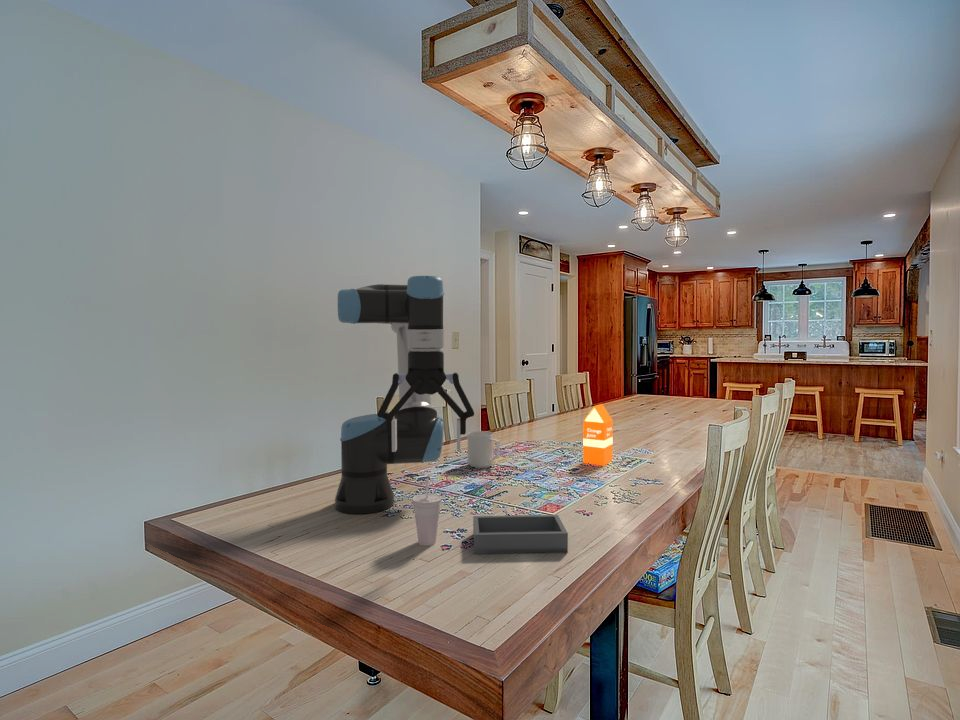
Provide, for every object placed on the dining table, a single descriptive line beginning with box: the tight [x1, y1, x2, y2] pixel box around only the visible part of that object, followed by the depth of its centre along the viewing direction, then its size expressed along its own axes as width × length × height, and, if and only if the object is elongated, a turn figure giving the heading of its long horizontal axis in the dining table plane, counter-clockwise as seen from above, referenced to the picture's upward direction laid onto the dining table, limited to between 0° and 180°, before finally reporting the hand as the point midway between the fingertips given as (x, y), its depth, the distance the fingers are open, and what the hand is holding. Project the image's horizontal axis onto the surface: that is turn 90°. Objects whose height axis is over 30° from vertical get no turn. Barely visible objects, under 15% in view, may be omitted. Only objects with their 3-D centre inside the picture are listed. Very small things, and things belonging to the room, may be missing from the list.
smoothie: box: [411, 477, 443, 547], centre depth 113 cm, size 6×6×14 cm
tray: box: [472, 514, 569, 555], centre depth 113 cm, size 11×19×4 cm, turn 92°
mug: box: [466, 430, 501, 469], centre depth 178 cm, size 12×9×11 cm
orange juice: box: [582, 403, 614, 467], centre depth 184 cm, size 8×9×20 cm
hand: (426, 450), depth 112 cm, fingers open, 13 cm apart
